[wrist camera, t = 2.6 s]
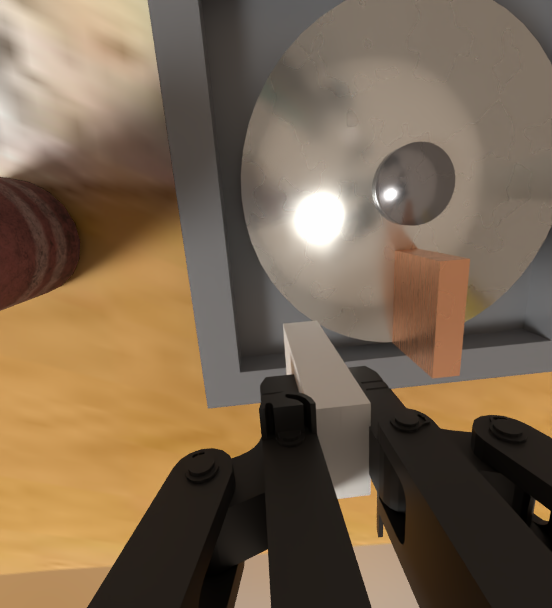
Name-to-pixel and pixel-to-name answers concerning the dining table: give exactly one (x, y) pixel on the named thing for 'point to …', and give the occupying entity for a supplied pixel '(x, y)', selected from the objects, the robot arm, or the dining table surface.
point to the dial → (402, 170)
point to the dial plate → (231, 222)
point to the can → (33, 242)
